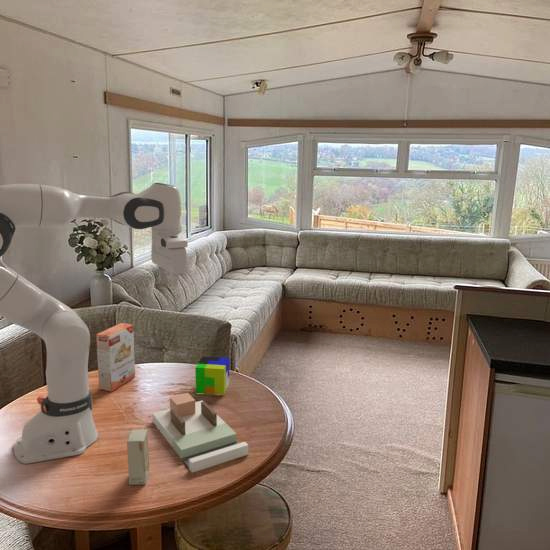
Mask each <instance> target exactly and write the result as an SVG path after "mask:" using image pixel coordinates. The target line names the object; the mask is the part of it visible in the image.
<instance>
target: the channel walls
mask: <svg viewBox="0 0 550 550" xmlns="http://www.w3.org/2000/svg"><path fill="white" fill-rule="evenodd" d="M170 414H171V423H172V424H173V425H174V426H175V427H176V429H177V430H178V431H179V432H180V433H181V435H185V421H184V420H183V419H182V418H181V417H180V416H179V415H178V413H177V412H176V411H175V410H174V409H171V410H170ZM201 414H202V415H203V416H204V417H205V418H206V419H207V420H208V421H209V422H210V423H211V424H212V425H213V426H217V415H218V414H217V412H216V411H215V410H214V409H213V408H212V407H211V406H209V404H208V403H207V402H205V401H204V400H203V402H201Z"/></svg>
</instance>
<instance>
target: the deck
mask: <svg viewBox="0 0 550 550" xmlns="http://www.w3.org/2000/svg"><path fill="white" fill-rule="evenodd" d="M203 401H204V400H199V401H195V414H192V415H188V416H184V417H181V418H182V419H183V420H184V421H185V435H181V433H180V432H179V431H178V430H177V429H176V427H175V426H174V425H173V424H172V423H171V414H170V408H168V409H163V410H159V411H155V412H152V413H151V414H152V415H151V416H152V417H151V418H152V424H154V426H155V425H156V426H155V427H156V428H157V429H158V431H159V430H160V431H159V432H160V434H161V435H162V436H163V437H164V439H165V440H166V441H167V443H169V445H170V446H171V448H172V447H173V448H172V449H173V451H175V452H176V454H177V455H178V457H179V458H180V459H181V461H182V462H183V463H184V464H185V466H186V467H187V468H188V470H189V471H190V472H191V473H192V474H193V473H196V472H199V471H202V470H205V469H208V468H209V469H210V468H211V467H214V466H218V465H221V464H224V463H227V462H230V461H232V460H236V459H238V458H242V457H245V456H247V455H249V444H248V443H247V442H246V441H242V442H238V440H237V439H238V437H237V435H238V433H236V432H235V430H233V428H232V427H230V426H229V425H228V424H227V423H226V422H225V421H224V420H223V419H222V418H221V417H220V416H219V415H218V414H217V426H213V425H212V424H211V423H210V422H209V421H208V420H207V419H206V418H205V417H204V416H203V415H202V414H201V402H203Z"/></svg>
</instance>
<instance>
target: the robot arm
mask: <svg viewBox="0 0 550 550" xmlns="http://www.w3.org/2000/svg"><path fill="white" fill-rule="evenodd" d="M181 216H182V203H181V195H180V190H179V188H178V187H177V186H175V185H174V184H173V185H172V184H169V183H168V184H167V183H163V182H153V183H152V184H151V186H149V187H147V188H145V189H144V190H142V191H140V192H138V193H134V192H131V191H123V192H118V193H116V194H114V195H110V196H100V195H99V196H98V195H84V194H78V193H75V192H72V190H71V191H70V190H68V189H65V188H62V187H58V186H54V185H48V184H36V183H11V184H2V185H0V316H1V317H2V318H4V319H6V320H7V321H9V322H11V323H12V324H13V325H16V326H20V327H21V328H24V329H26V330H28V331H30V332H32V333H34V334H36V335H37V336H38V337H40V338H41V340H43V341H44V343H45V348H46V349H45V350H46V368H45V369H46V370H45V377H46V378H45V379H46V380H45V381H46V390H47V396H46V397H45V396H44V395H39V396H38V397H36V400H37V404H38V405H40V411H39V412H38V413H36V414H35V415H34V416H33V417H32V418H31V419H29V420H27V422H25V424H24V425H23V428H22V432H21V437H18V438H17V439H16V441H15V442H14V445H13V455H14V457H15V459H16V460H17V461H18V462H19V463H22V464H33V463H38V462H43V461H49V460H56V459H60V458H66V457H72V456H73V457H74V456H78V455H81V454H83V453H84V452H85V451H86V450H87V448H88V447H89V446H91V445H93V444H94V443H96V441H97V439H98V438H99V432H98V429H97V428H96V424H95V420H94V418H93V412H92V409H93V398H92V392H91V391H90V383H89V382H90V381H89V368H88V364H89V355H90V354H89V353H90V346H91V334H90V329H89V328H88V326H87V324H86V323H85V322H84V321H83V320H82V318H81V317H80V316H79V314H77V312H76V311H75V310H74V309H72V308H71V307H69V306H68V305H66V304H65V303H63V302H62V301H60V300H59V299H56V298H55V297H54V296H52V295H50V293H47V292H46V291H44V290H43V289H41V288H39V287H38V286H36V285H35V284H34V283H32V282H30V281H29V280H28V279H26V278H25V277H24V276H22V275H21V274H19V273H18V272H16V271H15V270H14V269H12V268H11V267H9V266H8V265H7V264H6V263H4V261H2V256H4V255H5V254H6V252H7V251H8V250H9V248H10V246H11V243H12V240H13V237H14V236H15V235H14V234H15V232H16V228H21V227H28V228H29V227H30V228H31V227H33V228H56V227H64V226H67V225H69V224H70V223H71V222H72V221H73V220H77V219H79V218H91V219H108V220H112V221H113V222H115V223H117V224H120V225H122V226H126V227H128V228H131V229H134V230H144V229H148V228H149V229H150V228H151V246H150V247H151V249H150V251H151V253H150V254H151V255H150V256H151V257H150V258H151V262H152V264H155V265H156V266H157V267H156V268H157V271H158V276H159V280H161V281H164V280H167V273H166V271H168V272H169V273H170V275H171V279H170V280H169V284H170V286H171V287H173V288H175V287H178V285H179V284H178V281H179V278H180V275H183V274H186V271H187V264H188V262H187V261H188V260H187V259H188V258H187V249H186V248H187V247H189V246H188V245H189V243H188V239H187V238H186V237H185V235H184V233H183V231H182V229H183V227H182V224H181Z"/></svg>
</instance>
